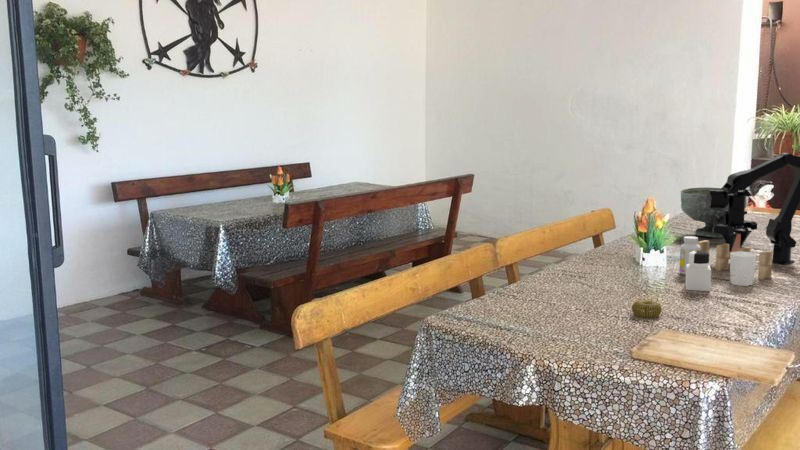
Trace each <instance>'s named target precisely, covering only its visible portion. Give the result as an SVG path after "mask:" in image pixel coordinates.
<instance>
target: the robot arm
mask: <svg viewBox="0 0 800 450" xmlns="http://www.w3.org/2000/svg"><path fill="white" fill-rule="evenodd" d="M786 166H788V167H792V168H794V174H793V175H794V176H793V177H794V180H793V183H792V184H791V186H790V189H789V191H788V193H787V196H786V198H785V199H784V202H783V205H782V206H781V209H780V211H779V213H778V216H776V217H775V218H774V219H773V218H770V219H769V221H768V223H767V226H766V227H765V229H766V231H765V235H766V236H767V239H769V240H770V243H771V244H772V245H773V246H772V247H773V248H772V251H773V257H772V263H775V264H776V263H777V264H782V265H788V264H791V263H795V262H796V261H795V260H793V259H792V248H795V247H796V244H797V241H796V240H795V239H794V238H793V237H792V236H791V233H792V225H793V223H792V221H793V218H794V216H795V214H796V212H797V209H798V208H799V205H800V156H797V155H795V154H792V153H789V152H781V153H780V154H779V155H777V156H775V157H773V158H770V159H768V160H766V161H764V162H762V163H760V164H758V165H757V166H754V167H752V168H750V169H747V170H746V169H745V170H741V171H737V172H734V173H731V174H730V175H728V177H727V178H726V179H727V180H726V182H725V183H724V184H723V186H722V187H721V190H717V191H714V190H708V194H707V196H706V199H705V203H706V207H707V208H708V209H724V208H725V207H727V205H728V211H725V212H724V215H721V216H718V214H714V215H711V220H710V222H711V223H713V224H714V227H713V233H719V234H721V235H722V236H723V237H724V238H723V240H724V242H725V243H726V244H729V251H732V248H733V245H734V242H735V239H736V236H737V234H741V242H740V248H743V245H744V243H745V241H746V240H747V238H748V237H749V235H751V233H752V231H753V230H754V231H755V230H758V223H757V222H756V221H753V220H745V215H748V211H747V210H746V208H745V197H746V196H747V197H752V196H753V195H752V193H751V192H749V190H748V188H749V187H750V186H752V185H753V184H754V183H755V182H756V181H758V180H759V179H761V178H762V177H765V176H767V175H769V174H771V173H774V172H776V171H778V170H779V169H782V168H784V167H786ZM747 197H746V198H747ZM749 229H750V230H749ZM725 243H724V244H725Z"/></svg>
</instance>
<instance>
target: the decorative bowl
mask: <svg viewBox="0 0 800 450" xmlns="http://www.w3.org/2000/svg"><path fill="white" fill-rule="evenodd" d="M721 188H722V187H721ZM721 188H720V187H707V186H706V187H689V188H686V189H684V188H683V189H682V190H681V191H680V201H681V203H680V208H681V210H682V212H683V213H684V215H687V216H688V217H689V218H690V219H691V220H693V221H696V222H701V223H704V225H705V226H704V227H699V228H696V230H695V231H694V233H695V235H696V236H700V237H709V238H716V239H717V238H719V239H721V238H723V239H724V237H723V236H722V235H721V234H719V233H713V227H714V224H713V223H711V222H710V220H711V215H714V214H718V216H721V215H724V212H725V211H728V205H727V207H725V208H724V209H708V208H707V207H706V203H705V199H706V196H707V194H708V190H714V191H717V190H721ZM747 197H748V196H746V197H745V209H746V208H747Z"/></svg>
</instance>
